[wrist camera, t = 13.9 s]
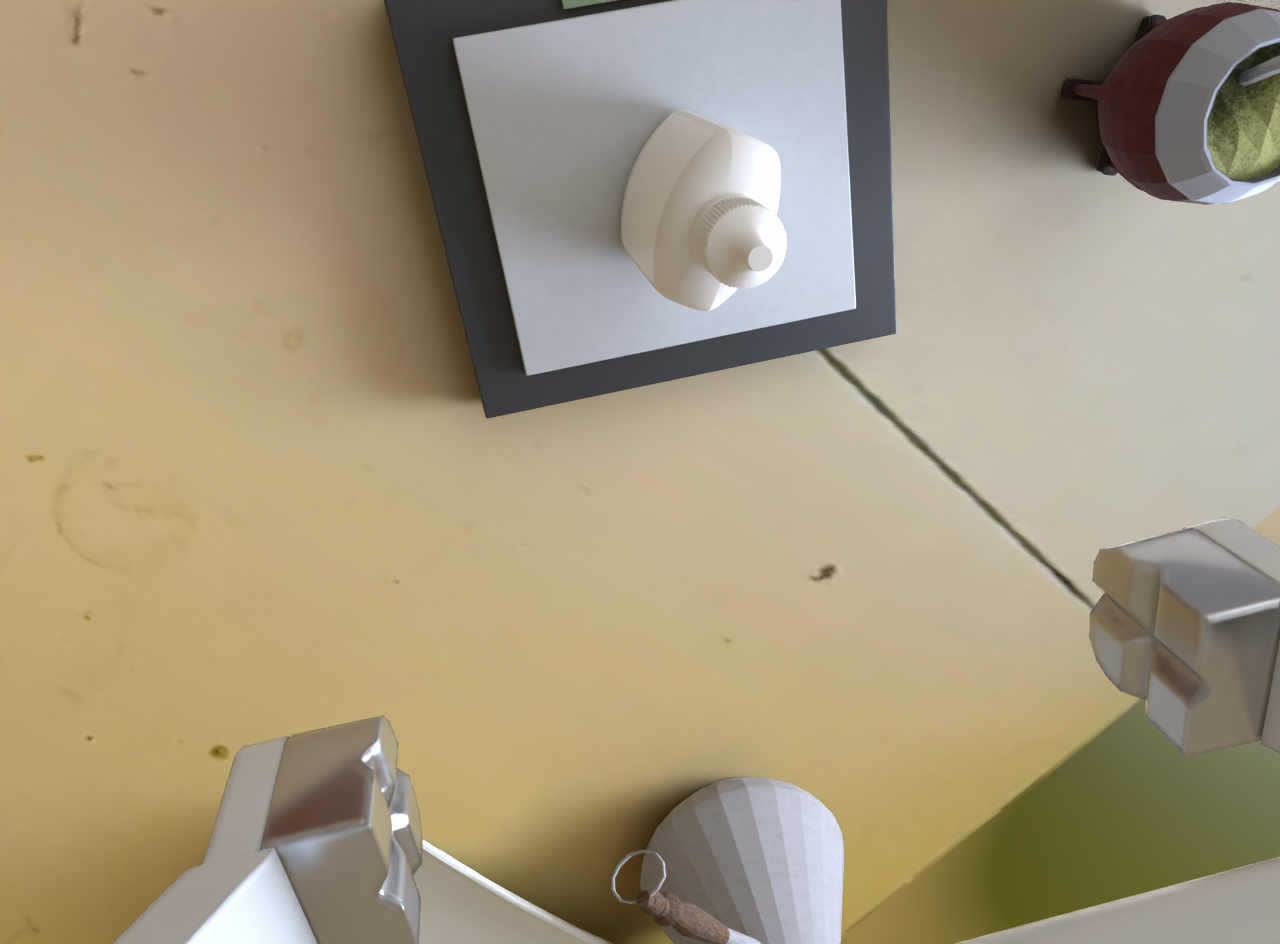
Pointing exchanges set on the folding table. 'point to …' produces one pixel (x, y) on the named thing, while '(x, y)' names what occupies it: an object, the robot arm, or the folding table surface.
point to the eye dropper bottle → (703, 211)
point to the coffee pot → (744, 867)
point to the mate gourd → (1193, 105)
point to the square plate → (482, 909)
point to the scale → (602, 162)
